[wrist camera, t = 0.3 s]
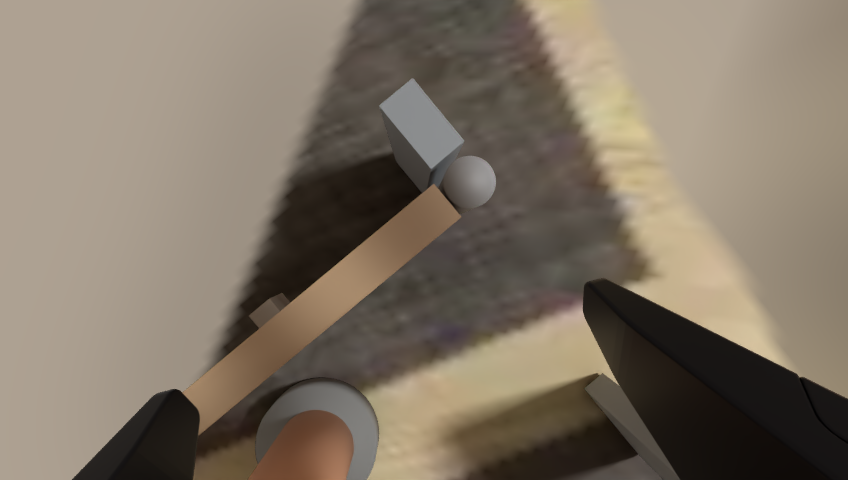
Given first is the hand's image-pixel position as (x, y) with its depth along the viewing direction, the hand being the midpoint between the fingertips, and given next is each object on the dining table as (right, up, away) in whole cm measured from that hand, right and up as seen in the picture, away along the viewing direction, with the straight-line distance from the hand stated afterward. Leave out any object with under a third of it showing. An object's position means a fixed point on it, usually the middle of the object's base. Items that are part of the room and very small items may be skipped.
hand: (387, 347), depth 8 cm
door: (-3, +1, +15) cm, 15 cm away
